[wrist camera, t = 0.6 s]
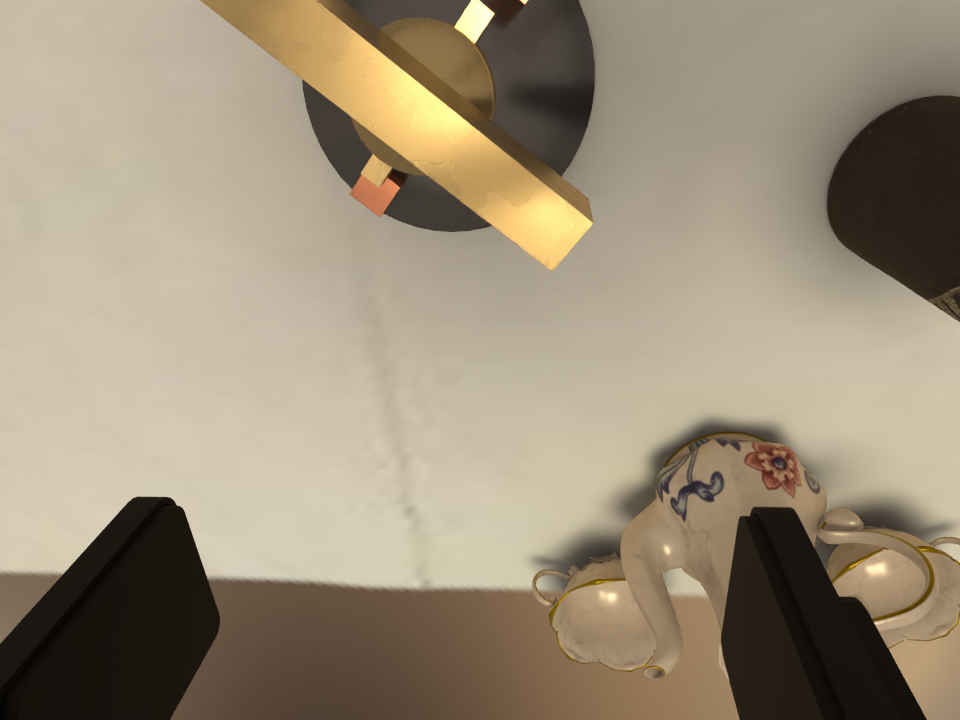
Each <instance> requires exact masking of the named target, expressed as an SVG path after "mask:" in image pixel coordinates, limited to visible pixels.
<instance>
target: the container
mask: <svg viewBox="0 0 960 720" xmlns="http://www.w3.org/2000/svg"><path fill="white" fill-rule="evenodd" d="M828 213H829V218H830V222H831V225H832V228H833V230H834V232H835V234H836V236H837V237H838V239H839V240H840V241H841V242H842V243H843V244H844V245H845V246H846V247H847V248H848V249H850V250H851V251H852V252H854V253H855V254H857V255H858V256H859V257H861V258H862V259H864V260H866V261H867V262H868V263H870V264H872V265H873V266H875V267H876V268H878V269H880V270H881V271H883V272H884V273H886V274H888V275H889V276H891V277H892V278H894V279H895V280H897V281H898V282H900V283H901V284H903V285H905V286H906V287H907V288H909V289H910V290H912V291H913V292H915V293H916V294H918V295H919V296H921V297H923V298H924V299H926V300H927V301H929V302H930V303H932V304H933V305H935V306H936V307H938V308H939V309H941V310H942V311H944V312H946V313H947V314H948V315H950V316H951V317H953V318H954V319H956V320H957V321H959V322H960V97H954V96H933V97H926V98H921V99H917V100H914V101H911V102H908V103H905V104H903V105H901V106H898V107H896V108H894V109H893V110H891V111H889V112H887V113H886V114H884V115H882V116H881V117H879V118H878V119H877V120H875V121H874V122H873V123H871V124H870V125H869V126H868V127H867V128H866V129H865V130H864V131H862V133H861V134H860V135H859V136H858V137H857V138H856V139H855V140H854V142H853V143H852V144H851V145H850V147H849V148H848V149H847V151H846V152H845V154H844V155H843V157H842V158H841V160H840V162H839V164H838V165H837V168H836V170H835V173H834V175H833V178H832V181H831V185H830V190H829V197H828Z"/></svg>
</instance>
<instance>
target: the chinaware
mask: <svg viewBox="0 0 960 720" xmlns="http://www.w3.org/2000/svg"><path fill="white" fill-rule="evenodd" d="M655 486H656V498H655V500H654V501H653V502H652V503H651V504H650V505H648V506H647V507H646V508H645V509H644V510H643V511H642V512H640V513H639V514H638V515H637V516H636V517H635V518H634V519H633V520H632V521H631V522H630V523H629V524H628V525H627V527H626V528H625V530H624V532H623V535H622V539H621V545H620V555H621V558H619V557H617V555H616V552H614V553H613V554H612V555H607V556H601V557H598V558H593V557H590V560H591V563H590V564H587V565H586V566H584V567H582V568H581V569H580V570H579V568H578V567H576V566H574V565H572V566H571V568H570V569H569V571H568V572H569V575H566V574H564V573H561V572H558V571H555V570H542V571H540V572H538V573H537V574H536V575H535V576H534V578H533V581H532V590H533V593H534V595H535V597H536V598H537V599H538V601H539V602H541V603H542V604H544V605H546V606H549V607H552V608H551V609H550V611H549V618H550V625H551V627H552V628H553V630H554V631H555V632H557V633H556V636H557V639H558V643H559V646H560V648H561V650H562V651H563V652H564V653H565V655H566V656H567V658H568V659H570V660H573V661H576V662H579V663H582V664H586V663H595V662H597V660H598V659H599V661H600V663H601V664H603V665H605V666H607V667H609V668H611V669H613V670H616V671H627V672H632V671H634V670H636V669H639V668H641V667H643V666H645V665H646V664H647V663H648V662H649V661H650V662H649V663H648V665H647V666H646V668H645V669H644V675H645V676H646V677H647V678H649V679H655V680H656V679H660V678H662V677H664V676H665V675H666V674H667V673H668V672H670V671H671V670H672V669H673V667H674V666H675V665H676V664H677V662H678V660H679V658H680V655H681V652H682V646H683V642H682V641H683V640H682V632H681V627H680V624H679V620H678V617H677V615H676V612H675V609H674V606H673V604H672V601H671V598H670V596H669V593H668V591H667V588H666V586H665V583H664V580H663V574H664V573H665V572H666V571H668V570H670V569H675V568H682V569H683V570H684V571H685V572H686V573H687V574H688V575H689V576H691V577H692V578H694V579H695V580H697V581H699V582H700V583H701V585H702V586H703V588H704V589H705V591H706V593H707V595H708V596H709V598H710V600H711V602H712V605H713V607H714V610H715V613H716V615H717V619H718V622H719V625H720V629H721V633H722V626H723V619H724V613H725V606H726V599H727V593H728V586H729V579H730V572H731V566H732V559H733V552H734V546H735V539H736V532H737V526H738V520H739V518H740V516H750V513H751V510H752V508H753V507H791V508H793V509H794V510H795V511H796V513H797V514H798V516H799V518H800V520H801V522H802V524H803V526H804V528H805V530H806V532H807V534H808V536H809V538H810V540H811V542H812V544H813V546H814V548H815V541H816V537H817V536H818V537H819V538H820V539H821V540H822V541H823V542H825V543H827V544H839V545H838V546H837V547H836V548H835V550H834V551H833V552H832V554H831V556H830V558H829V561H828V565H827V570H826V572H827V574H828V576H829V578H830V580H831V582H832V584H833V586H834V588H835V590H836V592H837V593H838V595H839V596H841V597H856V598H857V599H858V600H860V601H861V602H862V603H863V605H864V606H865V608H866V609H867V611H868V612H869V614H870V616H871V618H872V620H873V622H874V623H875V625H876V627H877V629H878V631H879V633H880V635H881V636H882V638H883V640H884V642H885V644H886V646H887V647H888V649H889V648H891V647H893V646H895V645H897V644H898V643H900V642H902V641H904V637H906V638H907V639H908V640H918V641H931V640H935V639H938V638H941V637H945V636H947V635H948V634H949V632H950V631H951V630H952V629H953V628H954V627H955V626H956V625H957V624H958V621H959V617H960V605H959V604H960V563H959V562H958V561H956V560H955V559H952V557H951V556H950V555H948V554H947V553H945V552H943V551H942V550H939V549H937V548H934V547H935V546H937V545H939V544H943V543H953V544H958V545H960V539H959V538H953V537H943V538H939V539H936V540H934V541H933V542H931V543H929V544H927V543H926V542H924V541H922V540H921V539H919V538H917V537H915V536H913V535H911V534H908V533H905V532H902V531H899V530H894V529H886V527H882V528H877V527H873V526H863V522H862V521H861V519H860V518H859V517H858V516H857V515H856V514H855V513H854V512H852V511H850V510H847V509H842V508H838V509H833V510H831V511H829V512H828V513H827V514H826V515H825V518H824V520H823V523H822V524H821V526H820V528H819V529H818V526H819V524H820V522H821V520H822V518H823V516H824V513H825V511H826V507H827V494H826V492H825V490H824V489H823V487H822V486H821V485H820V484H819V483H818V482H817V481H816V480H815V479H814V478H813V477H812V476H811V475H810V474H809V473H808V472H807V471H806V469H805V468H804V467H803V466H802V464H801V463H800V461H799V460H798V458H797V456H796V455H795V453H794V452H793V451H792V450H791V449H790V448H789V447H788V446H786V445H783V444H779V443H769V442H767V441H765V440H764V439H761V438H759V437H757V436H754V435H750V434H746V433H740V432H720V433H714V434H709V435H706V436H702V437H700V438H697V439H695V440H693V441H691V442H689V443H687V444H686V445H684V446H683V447H681V448H680V449H679V450H678V451H676V452H675V453H674V454H673V455H672V456H671V458H670V459H669V460H668V461H667V463H666V465H665V466H664V468H663V469H662V470H661V471H660V472H659V473H658V475H657V477H656V482H655ZM544 575H553V576H558V577H561V578H564V579H568V580H570V581H569V583H568V585H567V587H566V589H565V591H564V594H563V596H562V597H561V598H560V599H559V600H557V599H556V597H555V596H552V597H551V601H548V600H546V599H545V598H544V597H543V596H542V595H541V594H540V593H539V591H538V589H537V587H536V581H537V579H538V578H540V577H541V576H544ZM555 602H556V603H555ZM651 658H652V659H651ZM650 659H651V660H650ZM719 665H720V667H721V668H722V670H723V671H724V673H725V675H726V677H727V678H728V674H727V670H726V667H725V663H724V659H723V654H722V646H721V644H720V646H719ZM728 680H729V678H728Z"/></svg>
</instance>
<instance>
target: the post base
mask: <svg viewBox="0 0 960 720" xmlns="http://www.w3.org/2000/svg"><path fill="white" fill-rule="evenodd" d="M344 1H345V2H346V3H348V4H349V5H350V6H351V7H353V8H354V9H355V10H356V11H358V12H359V13H360V14H361V15H362V16H364V17H365V18H366V19H367V20H369V21H370V22H371V23H372V24H374V25H375V26H376V27H377V28H379V29H380V28H382V27H383V26H385V25H387V24H389V23H392V22H394V21H397V20H401V19H405V18H428V19H435V20H440V21H444V22H447V23H449V24H452V25H454V26H455V25H456V24H457V22H458V21H459V19H460V18H461V16H462V14H463V13H464V11H465V10H466V8H467V7H468V5H469V4H470V2H471V0H344ZM480 1H481V2H482V3H484V4H485V5H486V6H487V7H488V8H489V9H491V10H492V11H493V12H494V13H495V14H496V15H495V17H494V18H493V20H492V21H491V23H490V24H489V26H488V27H487V29H486V30H485V32H484V33H483V35H482V36H481V38H480V39H479V41H478V42H477V44H478V46H479V47H480V48H481V49H482V51H483V53H484V54H485V56H486V58H487V60H488V62H489V64H490V66H491V69H492V72H493V76H494V80H495V86H496V106H495V112H494V116H493V119H492V121H493V122H494V123H496V124H497V125H498V126H499V127H501V128H502V129H503V130H504V131H505V132H507V133H508V134H509V135H510V136H512V137H513V138H514V139H515V140H517V141H518V142H519V143H520V144H522V145H523V146H524V147H525V148H526V149H528V150H529V151H530V152H531V153H533V154H534V155H535V156H536V157H538V158H539V159H540V160H541V161H542V162H544V163H545V164H546V165H547V166H549V167H550V168H551V169H552V170H554V171H555V172H556V173H557V174H558V175H560V176H562V175H563V173H564V172H565V171H566V169H567V168H568V166H569V165H570V163H571V161H572V160H573V158H574V156H575V154H576V152H577V150H578V148H579V146H580V144H581V141H582V139H583V136H584V134H585V131H586V128H587V125H588V121H589V117H590V113H591V109H592V102H593V94H594V57H593V48H592V42H591V38H590V34H589V30H588V26H587V22H586V19H585V16H584V14H583V11H582V9H581V6H580V4H579V1H578V0H480ZM302 81H303V91H304V97H305V102H306V107H307V111H308V114H309V117H310V121H311V124H312V127H313V130H314V132H315V134H316V137H317V139H318V141H319V143H320V146H321V147H322V149H323V151H324V153H325V154H326V156H327V158H328V160H329V161H330V163H331V164H332V166H333V167H334V168H335V170H336V171H337V172H338V174H339V175H340V176H341V178H342V179H343V180H344V181H345V182H346V183H347V184H348V185H349V186H350V187H351V188H352V191H351V192H350V195H351V196H353V197H354V198H355V199H357V200H358V201H359V202H361V203H362V204H363V205H365V206H366V207H367V208H369V209H370V210H371V211H373V212H374V213H375V214H377V215H378V216H380V217H381V216H382V214H383V213H384V214H386V215H388V216H390V217H392V218H394V219H396V220H398V221H401V222H404V223H407V224H410V225H412V226H415V227H419V228H424V229H429V230H434V231H447V232H456V231H470V230H476V229H481V228H486V227H489V226H492V225H491V224H490V223H489V222H487V221H486V220H485V219H483V218H482V217H481V216H479V215H478V214H477V213H476V212H474V211H473V210H472V209H470V208H469V207H468V206H466V205H465V204H464V203H463V202H461V201H460V200H459V199H457V198H456V197H455V196H454V195H452V194H451V193H450V192H448V191H447V190H446V189H444V188H443V187H442V186H441V185H439V184H438V183H437V182H435V181H434V180H433V179H431V178H430V177H429V176H428V175H413V174H408V173H404V172H401V171H398V170H396V169H393V170H392V172H391V173H390V175H389V176H388V178H387V179H386V181H385V182H384V183H383V184H382V185H381V186H380V187H378V186H376V185H375V184H374V183H372V182H371V181H370V180H368V179H367V178H366V177H364V176H363V175H362V174H360V173H361V172H362V170H363V169H364V167H365V166H366V164H367V163H368V161H369V159H370V158H371V156H372V155H373V154H372V152H371V151H370V150H369V149H368V148H367V147H366V146H365V144H364V143H363V141H362V140H361V139H360V137H359V135H358V133H357V131H356V129H355V127H354V124H353V122H352V119H351V116H350V115H348V114H347V113H346V112H344V111H343V110H342V109H341V108H339V107H338V106H337V105H335V104H334V103H333V102H332V101H330V100H329V99H328V98H326V97H325V96H324V95H322V94H321V93H320V92H319V91H317V90H316V89H315V88H313V87H312V86H311V85H309V84H308V83H307V82H306V81H304V80H303V79H302Z"/></svg>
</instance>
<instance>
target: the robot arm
mask: <svg viewBox="0 0 960 720" xmlns="http://www.w3.org/2000/svg"><path fill="white" fill-rule="evenodd" d="M219 625H220V616H219V612H218V609H217V606H216V603H215V600H214V597H213V594H212V591H211V588H210V586H209V582H208V580H207V577H206V574H205V571H204V568H203V565H202V562H201V559H200V556H199V553H198V550H197V547H196V544H195V541H194V538H193V535H192V532H191V529H190V527H189V524H188V521H187V518H186V515H185V512H184V510H183V508H181V507H180V506H177V505H176V503H175V501H174V500H173V499H171V498H168V497H136V498H133V499H132V500H131V501H129V502H128V503H127V504H126V505H125V507H124V508H123V509H122V510H121V511H120V512H119V513H118V514H117V515H116V517H115V518H114V519H113V520H112V521H111V522H110V523H109V524H108V525H107V526H106V528H105V529H104V530H103V531H102V532H101V533H100V534H99V535H98V536H97V538H96V539H95V540H94V541H93V542H92V543H91V544H90V545H89V546H88V547H87V549H86V550H85V551H84V552H83V553H82V554H81V555H80V556H79V557H78V559H77V560H76V561H75V562H74V563H73V564H72V565H71V566H70V567H69V569H68V570H67V571H66V572H65V573H64V574H63V575H62V576H61V577H60V578H59V580H58V581H57V582H56V583H55V584H54V585H53V586H52V587H51V588H50V590H49V591H48V592H47V593H46V594H45V595H44V596H43V597H42V598H41V600H40V601H39V602H38V603H37V604H36V605H35V606H34V607H33V608H32V609H31V611H30V612H29V613H28V614H27V615H26V616H25V617H24V618H23V619H22V620H21V622H20V623H19V624H18V625H17V626H16V627H15V628H14V629H13V630H12V632H11V633H10V634H9V635H8V636H7V637H6V638H5V639H4V641H3V642H2V643H1V644H0V720H170V719H171V716H172V715H173V713H174V711H175V710H176V707H177V706H178V704H179V702H180V701H181V699H182V697H183V695H184V693H185V692H186V690H187V688H188V686H189V684H190V683H191V681H192V679H193V677H194V675H195V674H196V672H197V670H198V668H199V667H200V665H201V663H202V661H203V659H204V658H205V656H206V654H207V652H208V650H209V649H210V647H211V645H212V643H213V641H214V640H215V638H216V636H217V633H218V630H219ZM721 646H722V654H723V659H724V663H725V667H726V670H727V674H728V678H729V681H730V685H731V688H732V692H733V696H734V700H735V703H736V707H737V711H738V714H739V718H740V720H927V719H926V717H925V716H924V714H923V712H922V710H921V708H920V706H919V705H918V703H917V701H916V699H915V697H914V695H913V693H912V692H911V690H910V688H909V686H908V684H907V682H906V681H905V679H904V677H903V675H902V673H901V671H900V670H899V668H898V666H897V664H896V662H895V660H894V659H893V657H892V655H891V653H890V651H889V649H888V647H887V646H886V644H885V642H884V640H883V638H882V636H881V635H880V633H879V631H878V629H877V627H876V625H875V623H874V622H873V620H872V618H871V616H870V614H869V612H868V611H867V609H866V608H865V606H864V605H863V603H862V602H861V601H860V600H858V599H857V598H856V597H841V596H839V595H838V593H837V592H836V590H835V588H834V586H833V584H832V582H831V580H830V578H829V576H828V574H827V572H826V570H825V568H824V566H823V564H822V562H821V560H820V558H819V556H818V554H817V552H816V550H815V548H814V546H813V544H812V542H811V540H810V538H809V536H808V534H807V532H806V530H805V528H804V526H803V524H802V522H801V520H800V518H799V516H798V514H797V513H796V511H795V510H794V509H793V508H791V507H753V508H752V510H751V513H750V516H740V518H739V520H738V526H737V532H736V539H735V546H734V552H733V559H732V566H731V572H730V579H729V586H728V593H727V599H726V606H725V613H724V619H723V626H722V633H721Z"/></svg>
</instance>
